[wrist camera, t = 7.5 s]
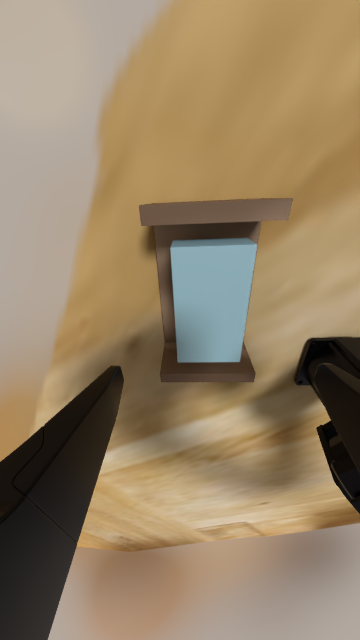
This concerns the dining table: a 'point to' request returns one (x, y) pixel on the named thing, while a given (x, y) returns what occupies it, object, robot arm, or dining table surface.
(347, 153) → the dining table surface
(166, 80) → the dining table surface
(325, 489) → the dining table surface
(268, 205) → the cradle
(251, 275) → the block
